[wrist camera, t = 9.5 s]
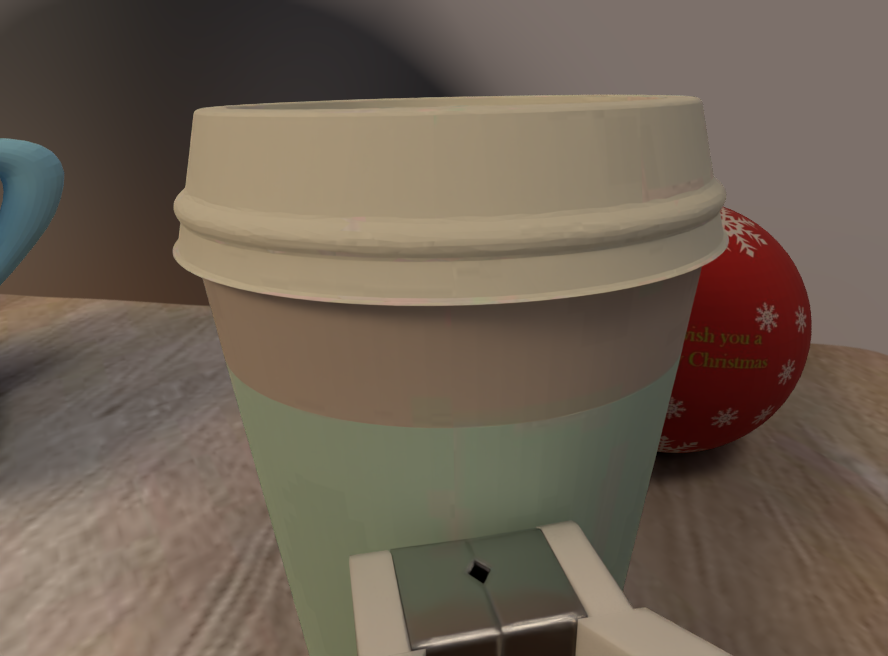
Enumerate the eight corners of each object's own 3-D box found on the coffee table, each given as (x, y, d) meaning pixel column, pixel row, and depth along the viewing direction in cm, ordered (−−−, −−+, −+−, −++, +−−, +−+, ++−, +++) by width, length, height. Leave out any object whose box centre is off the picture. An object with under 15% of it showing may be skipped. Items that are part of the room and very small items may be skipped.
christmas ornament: (507, 470, 22) (511, 168, 18) (569, 371, 29) (581, 142, 25) (792, 535, 18) (866, 178, 15) (782, 405, 26) (830, 145, 22)
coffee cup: (694, 613, 16) (771, 91, 11) (588, 1041, 9) (684, 111, 5) (400, 513, 20) (377, 97, 15) (166, 752, 13) (7, 113, 8)
